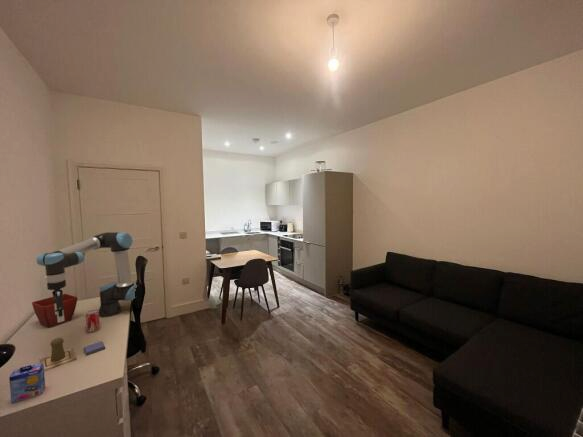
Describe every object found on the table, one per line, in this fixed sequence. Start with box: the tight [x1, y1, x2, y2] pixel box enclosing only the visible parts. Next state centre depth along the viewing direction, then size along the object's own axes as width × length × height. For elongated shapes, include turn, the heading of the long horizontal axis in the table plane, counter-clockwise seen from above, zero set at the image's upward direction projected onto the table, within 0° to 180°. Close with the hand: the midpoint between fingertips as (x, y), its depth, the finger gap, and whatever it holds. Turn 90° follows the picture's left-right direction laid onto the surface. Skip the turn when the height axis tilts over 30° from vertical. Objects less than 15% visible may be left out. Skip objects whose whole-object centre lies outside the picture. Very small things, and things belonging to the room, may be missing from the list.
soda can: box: [85, 309, 101, 334], centre depth 166 cm, size 7×7×13 cm
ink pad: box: [82, 340, 106, 357], centre depth 145 cm, size 9×9×2 cm
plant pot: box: [31, 293, 78, 328], centre depth 178 cm, size 19×19×17 cm
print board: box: [39, 347, 77, 372], centre depth 135 cm, size 14×14×1 cm
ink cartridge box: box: [8, 363, 46, 404], centre depth 110 cm, size 10×6×14 cm, turn 124°
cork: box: [50, 337, 66, 362], centre depth 134 cm, size 6×6×11 cm
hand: (59, 317), depth 138 cm, fingers open, 13 cm apart
